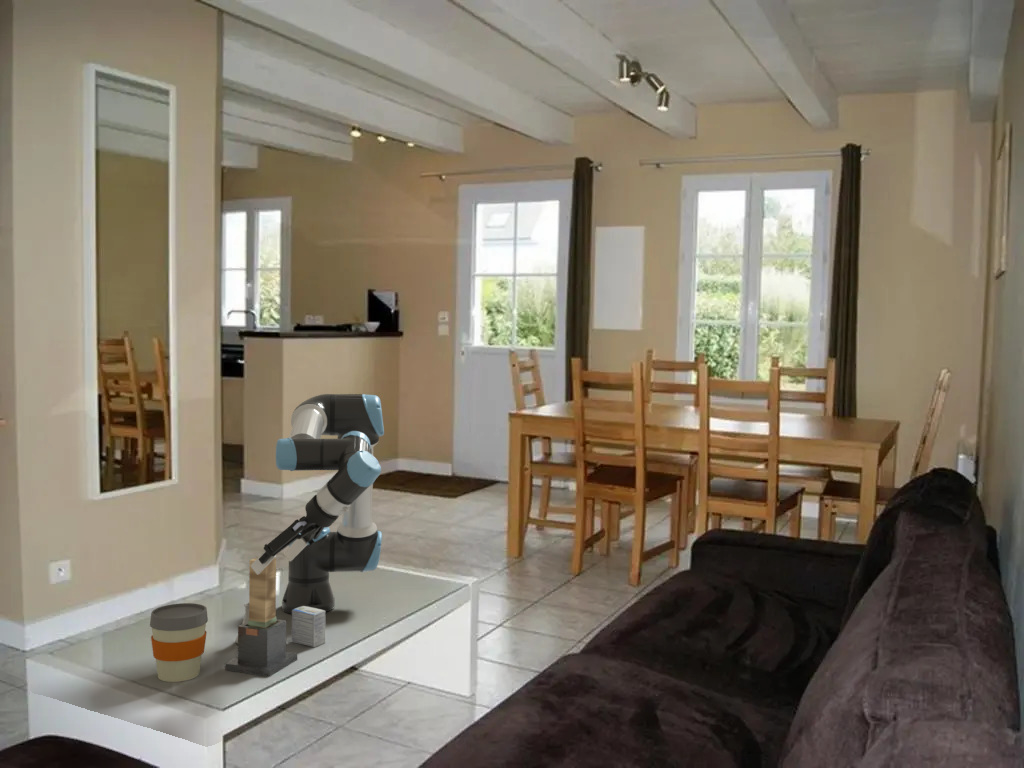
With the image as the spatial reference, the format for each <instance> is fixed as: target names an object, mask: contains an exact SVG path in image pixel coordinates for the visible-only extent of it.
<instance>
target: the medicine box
mask: <svg viewBox="0 0 1024 768" xmlns="http://www.w3.org/2000/svg"><path fill="white" fill-rule="evenodd" d="M291 642H292V643H295V644H300V645H303V646H307V647H312V648H316V647H319V646H321V645H323V644H325V643H326V612H325V610H321V609H317V608H312V607H307V606H301V607H298V608H295V609H293V610H292V614H291Z"/></svg>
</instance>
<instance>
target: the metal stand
mask: <svg viewBox="0 0 1024 768" xmlns="http://www.w3.org/2000/svg"><path fill="white" fill-rule="evenodd" d="M237 636H238V644H237V657H234V658H233V659H232V660H229V661H227V662H226V663H224V665H225V666H224V668H225V671H229V672H230V671H231V672H238V673H245V674H250V675H258V676H264V677H271V676H273V675H274V674H276V673H278V672H279V671H281V670H283V669H284V668H286V667H288V666H289V665H291V664H292V663H294V662H295V661H298V653H295V652H288V651H287V620H285V619H277V618H276V622H275V624H274V625H272V626H270V627H268V628H258V627H251V626H249V625H248V622H246V623H244V624H240V625H237Z"/></svg>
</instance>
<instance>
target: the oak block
mask: <svg viewBox="0 0 1024 768" xmlns="http://www.w3.org/2000/svg"><path fill="white" fill-rule="evenodd" d="M258 557H259V556H256V557H254V558H252V559H250V560H249V580H248V581H249V584H248V585H249V586H248V589H249V591H248V595H249V598H248V599H249V600H248V603H249V620H248V625H249V626H251V627H258V628H268V627H270V626H272V625H274V624H275V622H276V619H277V616H276V611H277V610H276V609H277V607H276V605H277V602H276V601H277V599H276V598H277V557H275V558H274V559H273V560H272V561H271V562H270V563H269V564H268V565H267V566H266V567H265V568H264V569H263V571H262V572H261V573H260V574H258V575H257V574H256V573H255V571H254V570H253V569H252V568H251V566H250V565H251V564H252V563H253V562H254V561H255V560H256V559H257V558H258Z"/></svg>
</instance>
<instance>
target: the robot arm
mask: <svg viewBox="0 0 1024 768" xmlns="http://www.w3.org/2000/svg"><path fill="white" fill-rule="evenodd" d="M383 419H384V417H383V410H382V401H381V398H380V397H379V396H378V395H375V394H365V393H362V394H361V393H356V394H355V393H349V394H348V393H346V394H345V393H340V394H339V393H337V394H336V393H335V394H334V393H322V394H318V395H315V396H312V397H310V398H307V399H306V400H304V401H302V402H301V403H299V404H298V406H296V408H295V409H294V410H293V412H292V414H291V419H290V423H291V424H290V425H291V431H290V434H289V437H286V438H279V439H277V441H276V443H275V444H276V445H275V466H276V468H277V469H278V470H280V471H290V472H293V471H294V472H295V471H337V472H336V473H335V474H334V475H333V476H332V477H331V478H330V479H329V480H328V481H326V483H325V484H324V485H322V487H321V488H320V489H319V490H318V491H317V492H316V494H315V495H313V497H312V498H310V499H309V501H307V503H306V504H305V513H306V515H303V516H302V517H300V518H299V519H295V520H294V521H293V522H292V523H291V524H290V525H289V526H288V527H287V528H285V529H284V530H283V531H282V532H281V533H280V534H278V535H277V536H276V537H275V538H273V539H272V540H271V541H269V542H268V543H265V544H264V545H263V546H264V547H263V550H264V551H262V553H261V554H260V555H259V556H257V557H258V558H257V557H256V558H257V559H256V560H255V561H254V562H253V563H252V564H251V565H250V564H249V567H250V566H251V568H252V569H253V570H254V571H255V573H256V574H257V575H258V574H260V573H261V572H262V571H263V569H264V568H265V567H266V566H267V565H268V564H269V563H270V562H271V561H272V560H273V559H274V558H277V555H278V554H279V553H280V552H281V551H283V550H284V549H285V551H283V553H282V554H283V555H284V556H285V558H286V559H287V560H288V576H287V577H288V579H287V580H288V582H287V585H286V588H285V591H284V594H283V597H282V601H281V610H282V611H283V612H284V613H287V614H290V615H292V610H293V609H295V608H298V607H301V606H307V607H312V608H317V609H321V610H325V613H327V612H326V611H328V612H330V611H332V610H333V609H334V608H335V607H334V606H336V604H335V603H336V602H335V601H336V600H335V599H336V598H335V595H334V592H333V590H332V585H331V583H330V573H347V572H348V573H349V572H351V573H353V572H354V573H355V572H356V573H357V572H360V573H364V572H372V571H374V570H375V571H376V569H377V568H378V566H379V562H380V557H381V556H380V555H381V551H382V542H383V541H382V540H383V533H382V531H380V530H378V526H377V524H376V523H375V522H373V495H374V494H373V488H374V487H373V486H374V483H375V481H376V479H378V477H379V476H380V475H381V472H382V466H381V464H380V462H379V460H378V459H377V458H376V457H375V456H374V447H375V446H376V445H378V443H379V442H380V438H379V437H383V436H384V435H385V427H384V420H383ZM322 436H335V437H337V438H322ZM341 515H342V519H341V520H342V522H341V523H339V524H338V525H337V528H336V531H331V528H330V527H331V526H332V525H333V524H334V523H335V522H336V521H337V520H338V519H339V517H340V516H341ZM333 607H334V608H333ZM332 608H333V609H332ZM331 609H332V610H331ZM329 610H330V611H329Z"/></svg>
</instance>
